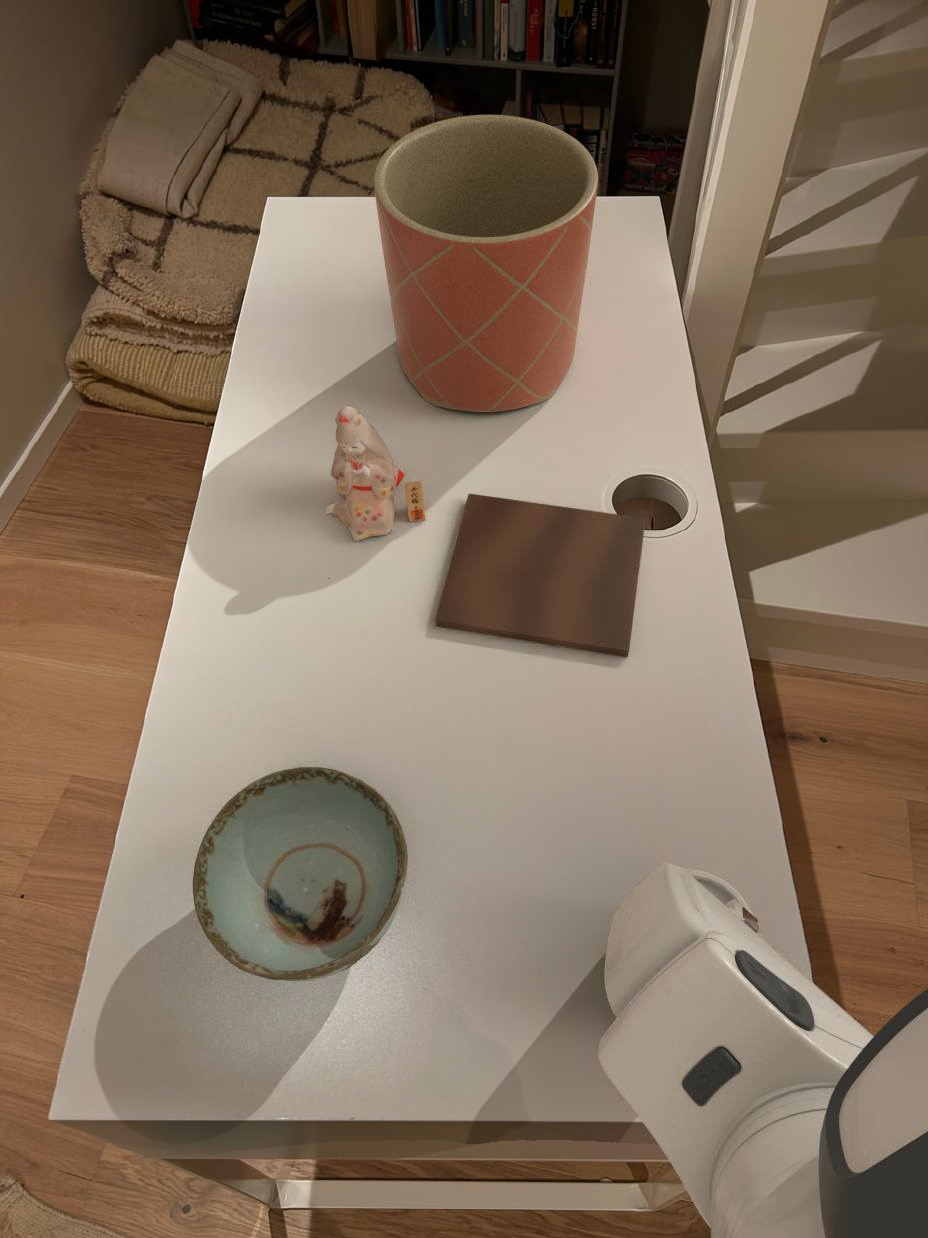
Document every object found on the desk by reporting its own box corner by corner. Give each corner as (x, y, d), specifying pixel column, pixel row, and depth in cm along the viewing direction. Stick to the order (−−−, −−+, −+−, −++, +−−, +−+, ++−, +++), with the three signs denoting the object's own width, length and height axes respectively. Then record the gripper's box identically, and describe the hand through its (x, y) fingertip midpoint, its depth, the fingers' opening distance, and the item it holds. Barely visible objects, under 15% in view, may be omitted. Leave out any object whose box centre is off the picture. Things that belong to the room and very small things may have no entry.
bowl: (398, 1019, 60) (387, 993, 54) (199, 993, 61) (164, 965, 55) (428, 820, 68) (421, 776, 61) (250, 801, 69) (224, 755, 62)
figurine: (322, 544, 82) (294, 434, 73) (331, 494, 86) (306, 385, 78) (423, 541, 81) (408, 429, 72) (427, 491, 86) (413, 380, 77)
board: (644, 525, 82) (645, 518, 82) (627, 657, 75) (629, 650, 74) (468, 500, 84) (468, 493, 84) (435, 626, 77) (435, 619, 76)
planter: (394, 302, 100) (374, 117, 83) (569, 294, 100) (585, 108, 83) (393, 429, 90) (371, 247, 73) (589, 420, 90) (612, 236, 73)
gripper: (1188, 1367, 29) (1043, 1103, 42) (675, 910, 32) (691, 798, 45) (1034, 1473, 30) (941, 1186, 44) (560, 1028, 33) (608, 887, 47)
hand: (811, 986), depth 44 cm, fingers open, 8 cm apart
